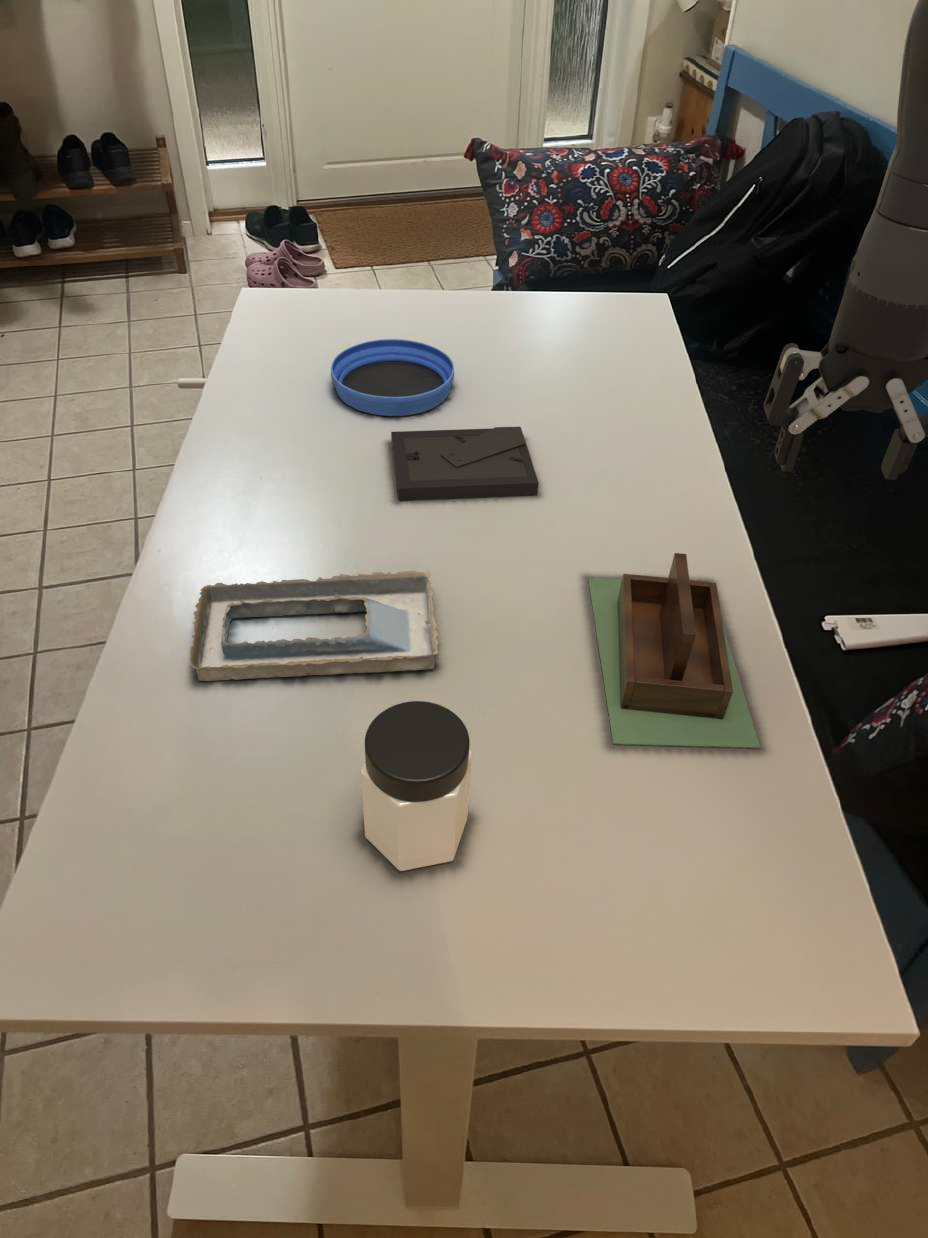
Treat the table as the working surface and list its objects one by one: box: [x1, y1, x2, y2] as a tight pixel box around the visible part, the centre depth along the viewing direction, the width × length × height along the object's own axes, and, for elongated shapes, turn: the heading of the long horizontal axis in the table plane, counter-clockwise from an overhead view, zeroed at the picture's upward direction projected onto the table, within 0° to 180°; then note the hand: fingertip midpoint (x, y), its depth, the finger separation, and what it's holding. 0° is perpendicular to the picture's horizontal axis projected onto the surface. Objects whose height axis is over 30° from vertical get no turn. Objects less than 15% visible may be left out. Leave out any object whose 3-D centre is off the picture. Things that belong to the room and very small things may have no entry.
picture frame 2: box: [390, 426, 540, 502], centre depth 116 cm, size 13×2×18 cm
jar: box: [360, 700, 473, 872], centre depth 72 cm, size 9×8×12 cm
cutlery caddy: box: [618, 552, 733, 719], centre depth 89 cm, size 16×10×9 cm, turn 174°
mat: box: [587, 577, 761, 750], centre depth 93 cm, size 24×14×1 cm, turn 0°
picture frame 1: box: [189, 570, 439, 682], centre depth 92 cm, size 13×25×3 cm, turn 97°
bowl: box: [330, 338, 455, 417], centre depth 131 cm, size 18×18×4 cm
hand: (836, 470), depth 75 cm, fingers open, 8 cm apart
